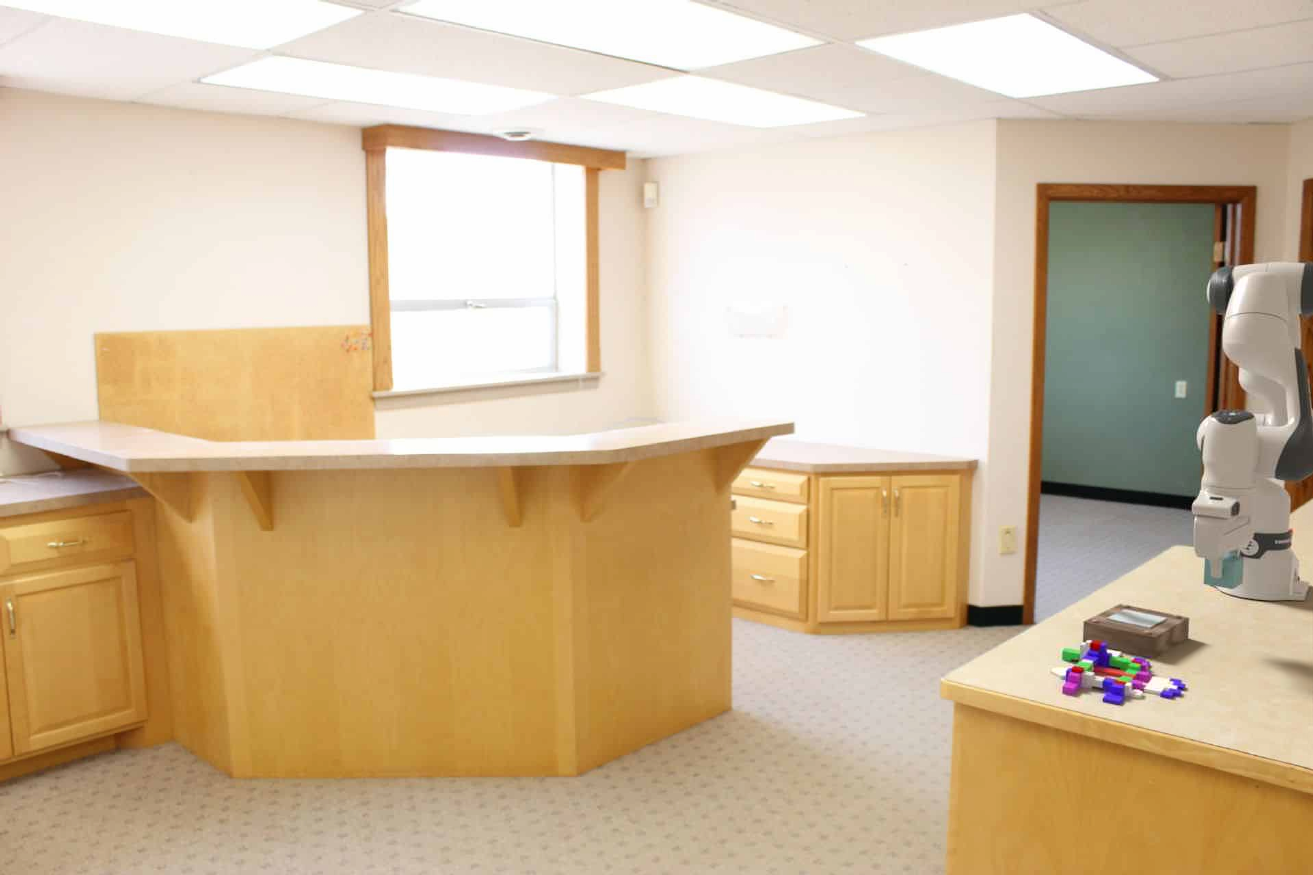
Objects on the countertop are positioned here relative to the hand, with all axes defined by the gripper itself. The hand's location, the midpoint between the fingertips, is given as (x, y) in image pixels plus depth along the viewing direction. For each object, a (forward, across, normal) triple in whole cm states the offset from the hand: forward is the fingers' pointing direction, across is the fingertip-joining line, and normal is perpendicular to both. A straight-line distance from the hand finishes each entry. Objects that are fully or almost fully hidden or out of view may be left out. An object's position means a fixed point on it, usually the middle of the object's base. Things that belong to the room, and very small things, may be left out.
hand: (1223, 573), depth 193 cm
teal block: (+2, 0, 0) cm, 2 cm away
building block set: (+14, +30, -6) cm, 34 cm away
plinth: (+13, +8, -12) cm, 20 cm away
